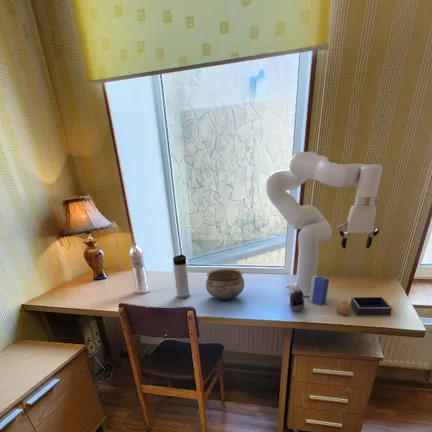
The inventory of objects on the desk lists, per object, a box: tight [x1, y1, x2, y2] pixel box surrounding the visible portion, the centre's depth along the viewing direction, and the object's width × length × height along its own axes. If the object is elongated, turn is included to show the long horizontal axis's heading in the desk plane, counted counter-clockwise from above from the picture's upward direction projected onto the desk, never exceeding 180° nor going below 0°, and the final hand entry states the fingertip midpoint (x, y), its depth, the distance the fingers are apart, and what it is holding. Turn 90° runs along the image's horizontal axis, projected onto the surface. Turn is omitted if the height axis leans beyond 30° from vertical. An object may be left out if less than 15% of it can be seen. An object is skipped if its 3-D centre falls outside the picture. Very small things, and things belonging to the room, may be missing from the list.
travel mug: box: [172, 254, 190, 300], centre depth 165 cm, size 6×7×20 cm
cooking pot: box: [205, 268, 245, 301], centre depth 163 cm, size 25×19×12 cm
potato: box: [336, 300, 352, 316], centre depth 143 cm, size 5×8×5 cm, turn 175°
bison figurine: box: [289, 289, 306, 312], centre depth 148 cm, size 12×7×10 cm, turn 170°
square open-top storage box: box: [349, 296, 393, 317], centre depth 145 cm, size 13×13×4 cm
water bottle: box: [128, 242, 149, 295], centre depth 172 cm, size 7×7×25 cm
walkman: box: [308, 275, 330, 306], centre depth 153 cm, size 8×3×12 cm, turn 32°
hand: (355, 247), depth 140 cm, fingers open, 9 cm apart
